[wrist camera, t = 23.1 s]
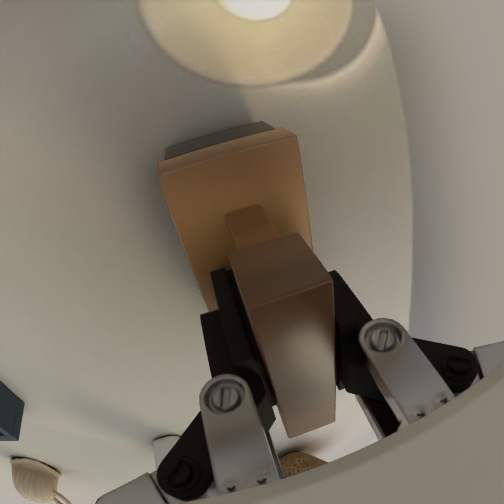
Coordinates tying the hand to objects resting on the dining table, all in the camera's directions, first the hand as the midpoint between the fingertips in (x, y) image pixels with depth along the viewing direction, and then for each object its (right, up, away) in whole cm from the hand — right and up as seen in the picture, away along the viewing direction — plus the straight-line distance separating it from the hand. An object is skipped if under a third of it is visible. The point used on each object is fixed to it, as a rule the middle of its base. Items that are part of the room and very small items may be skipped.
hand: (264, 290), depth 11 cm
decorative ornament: (-26, -24, +14) cm, 38 cm away
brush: (-1, +2, +3) cm, 4 cm away
